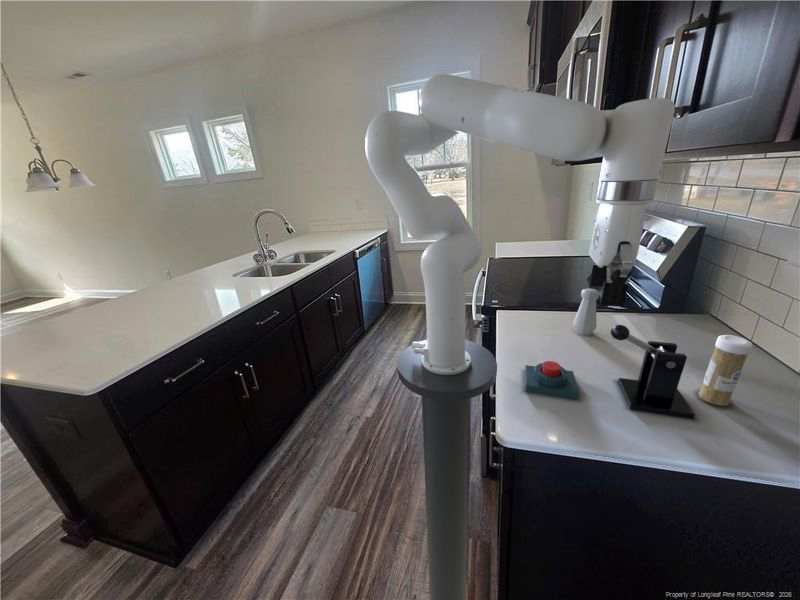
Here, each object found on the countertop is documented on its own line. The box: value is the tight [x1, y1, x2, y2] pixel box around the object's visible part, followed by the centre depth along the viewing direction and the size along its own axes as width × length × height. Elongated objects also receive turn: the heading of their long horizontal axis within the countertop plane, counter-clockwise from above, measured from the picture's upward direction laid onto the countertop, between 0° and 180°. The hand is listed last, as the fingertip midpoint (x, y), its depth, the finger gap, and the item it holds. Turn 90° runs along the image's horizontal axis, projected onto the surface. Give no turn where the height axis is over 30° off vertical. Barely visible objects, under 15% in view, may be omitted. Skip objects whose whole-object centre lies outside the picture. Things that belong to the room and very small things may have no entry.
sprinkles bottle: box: [698, 334, 753, 407], centre depth 60 cm, size 5×5×13 cm
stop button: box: [542, 360, 562, 377], centre depth 69 cm, size 4×4×2 cm
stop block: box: [524, 362, 579, 400], centre depth 70 cm, size 10×8×4 cm
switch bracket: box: [617, 340, 696, 420], centre depth 62 cm, size 10×9×12 cm
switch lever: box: [610, 324, 673, 358], centre depth 61 cm, size 12×3×3 cm, turn 71°
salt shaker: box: [572, 287, 600, 336], centre depth 88 cm, size 6×6×13 cm
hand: (604, 294), depth 56 cm, fingers open, 9 cm apart
